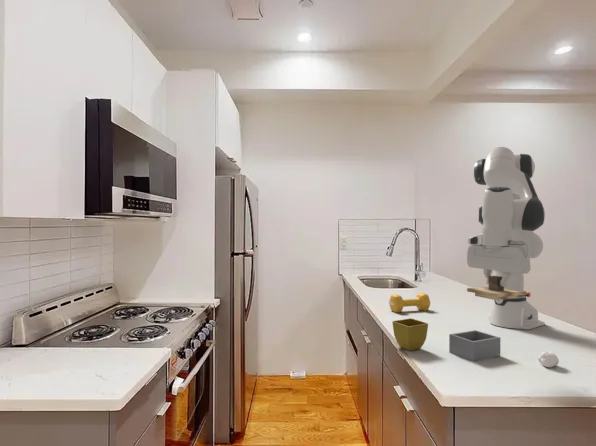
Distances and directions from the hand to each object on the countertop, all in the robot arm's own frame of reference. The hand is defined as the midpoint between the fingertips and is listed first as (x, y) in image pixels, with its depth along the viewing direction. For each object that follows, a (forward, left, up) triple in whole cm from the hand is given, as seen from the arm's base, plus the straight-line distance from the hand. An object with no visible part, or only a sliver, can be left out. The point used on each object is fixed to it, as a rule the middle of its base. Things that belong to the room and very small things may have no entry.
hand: (496, 285), depth 128 cm
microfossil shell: (-14, +7, -25) cm, 29 cm away
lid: (0, 0, -4) cm, 4 cm away
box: (-2, -10, -24) cm, 26 cm away
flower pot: (+13, -24, -25) cm, 37 cm away
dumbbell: (-26, -71, -25) cm, 79 cm away
